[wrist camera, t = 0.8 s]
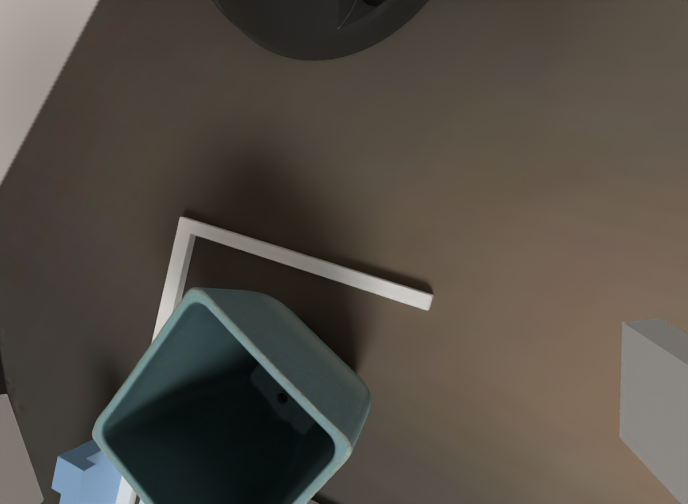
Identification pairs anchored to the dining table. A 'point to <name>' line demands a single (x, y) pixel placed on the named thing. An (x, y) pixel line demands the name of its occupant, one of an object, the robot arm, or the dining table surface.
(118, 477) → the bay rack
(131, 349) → the dining table surface
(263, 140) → the dining table surface
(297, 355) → the flower pot
